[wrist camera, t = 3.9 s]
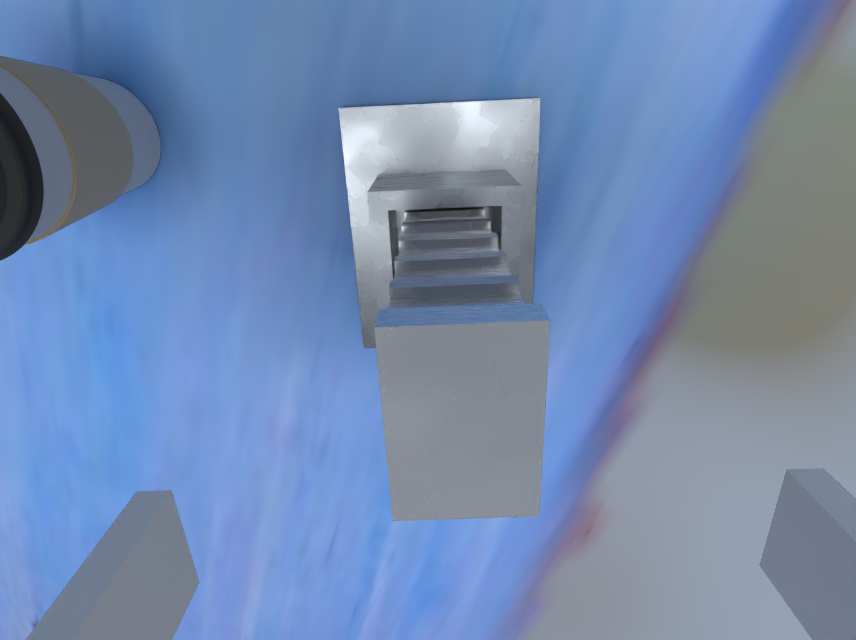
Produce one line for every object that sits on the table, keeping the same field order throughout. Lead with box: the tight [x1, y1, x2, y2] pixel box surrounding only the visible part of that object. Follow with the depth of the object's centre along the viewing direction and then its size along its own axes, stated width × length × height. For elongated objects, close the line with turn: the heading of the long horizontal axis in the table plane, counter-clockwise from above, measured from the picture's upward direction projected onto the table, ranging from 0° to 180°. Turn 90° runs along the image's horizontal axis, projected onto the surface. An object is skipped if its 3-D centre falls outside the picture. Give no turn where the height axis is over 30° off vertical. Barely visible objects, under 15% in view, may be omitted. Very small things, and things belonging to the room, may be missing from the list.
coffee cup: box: [0, 56, 161, 260], centre depth 25 cm, size 9×9×15 cm
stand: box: [339, 98, 541, 348], centre depth 31 cm, size 12×16×8 cm
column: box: [374, 206, 550, 521], centre depth 24 cm, size 4×6×21 cm
